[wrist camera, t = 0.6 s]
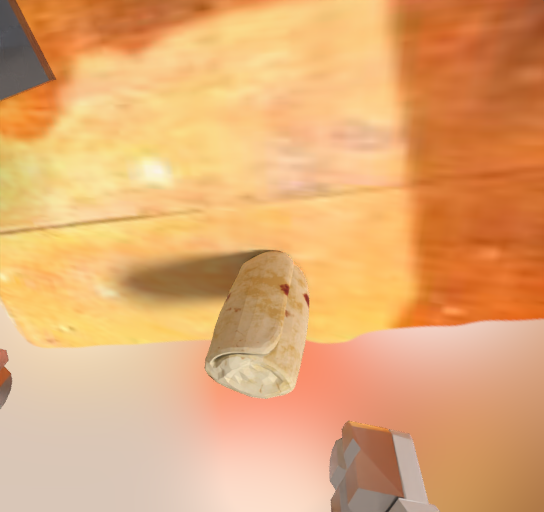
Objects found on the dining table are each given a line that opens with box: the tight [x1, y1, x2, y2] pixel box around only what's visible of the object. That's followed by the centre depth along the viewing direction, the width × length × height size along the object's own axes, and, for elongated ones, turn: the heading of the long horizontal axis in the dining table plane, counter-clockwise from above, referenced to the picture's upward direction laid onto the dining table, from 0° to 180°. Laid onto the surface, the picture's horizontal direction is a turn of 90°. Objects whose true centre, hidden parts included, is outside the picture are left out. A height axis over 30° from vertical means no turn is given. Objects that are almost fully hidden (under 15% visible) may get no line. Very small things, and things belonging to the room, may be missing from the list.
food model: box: [205, 251, 309, 399], centre depth 46 cm, size 10×7×20 cm
